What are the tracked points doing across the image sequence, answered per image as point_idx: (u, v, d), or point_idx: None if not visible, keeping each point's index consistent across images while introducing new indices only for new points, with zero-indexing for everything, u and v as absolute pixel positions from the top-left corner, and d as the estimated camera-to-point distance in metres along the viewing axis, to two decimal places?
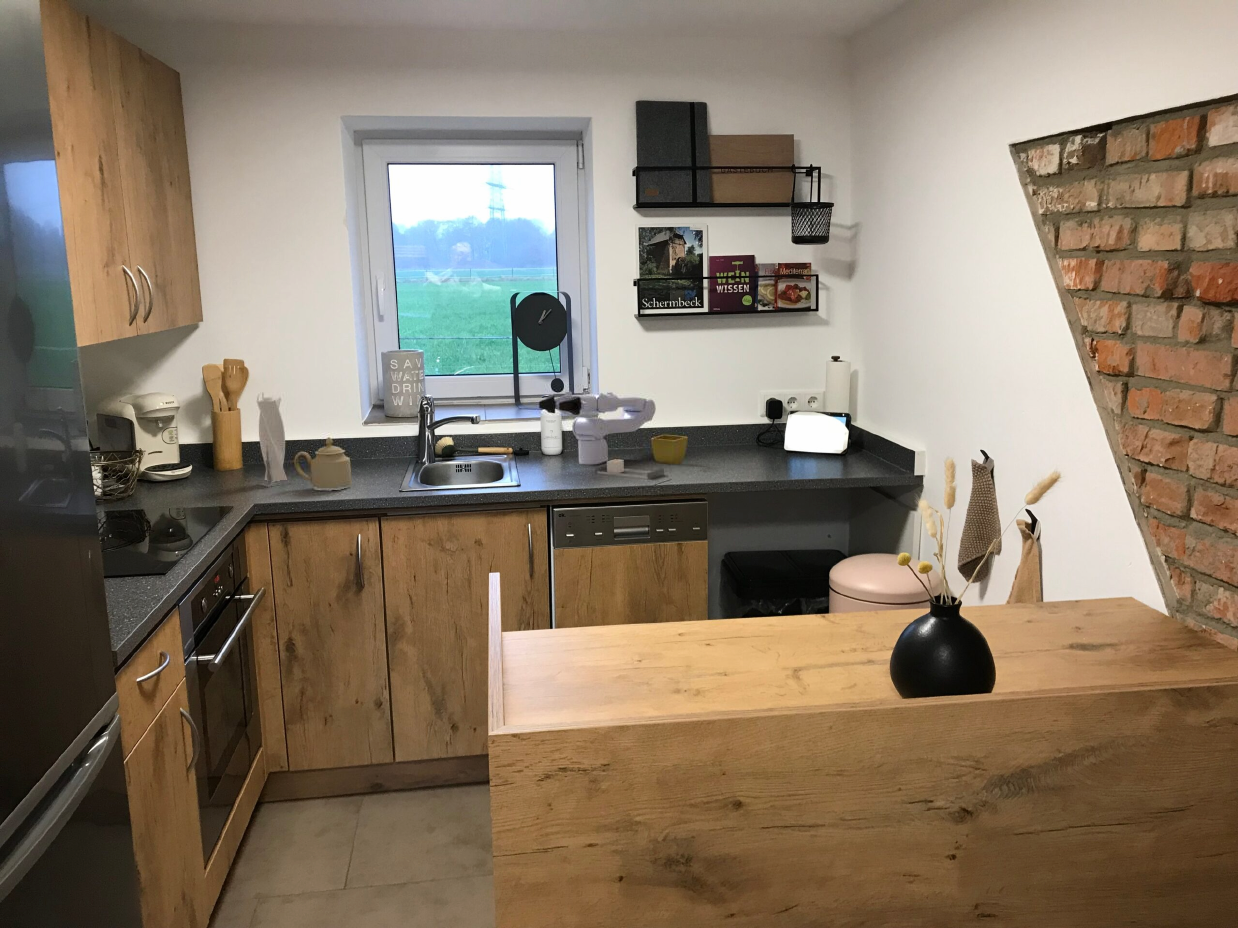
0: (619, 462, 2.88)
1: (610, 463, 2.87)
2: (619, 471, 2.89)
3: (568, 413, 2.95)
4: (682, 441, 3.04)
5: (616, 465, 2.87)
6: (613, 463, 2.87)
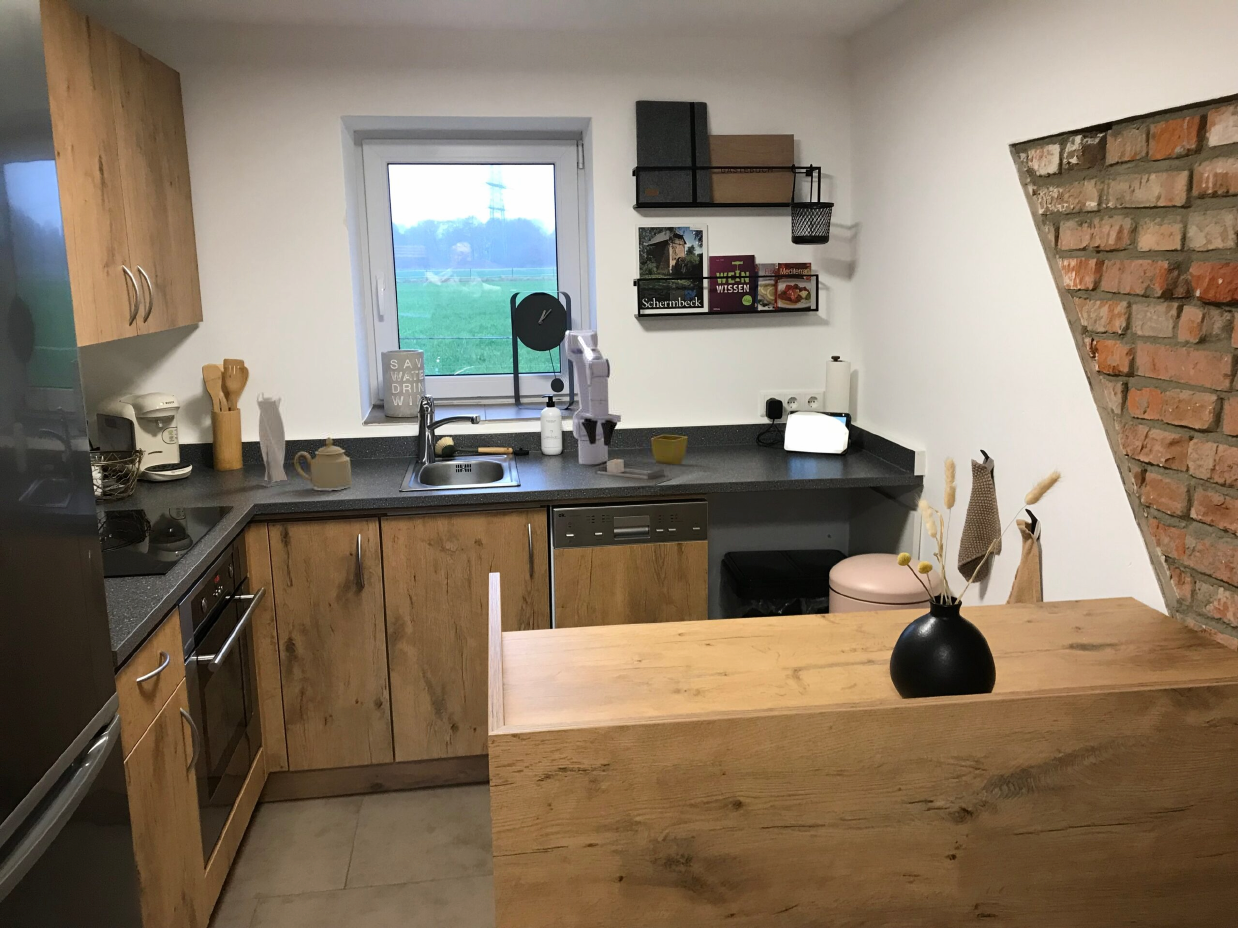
0: (619, 462, 2.88)
1: (610, 463, 2.87)
2: (619, 471, 2.89)
3: None
4: (682, 441, 3.04)
5: (616, 465, 2.87)
6: (613, 463, 2.87)
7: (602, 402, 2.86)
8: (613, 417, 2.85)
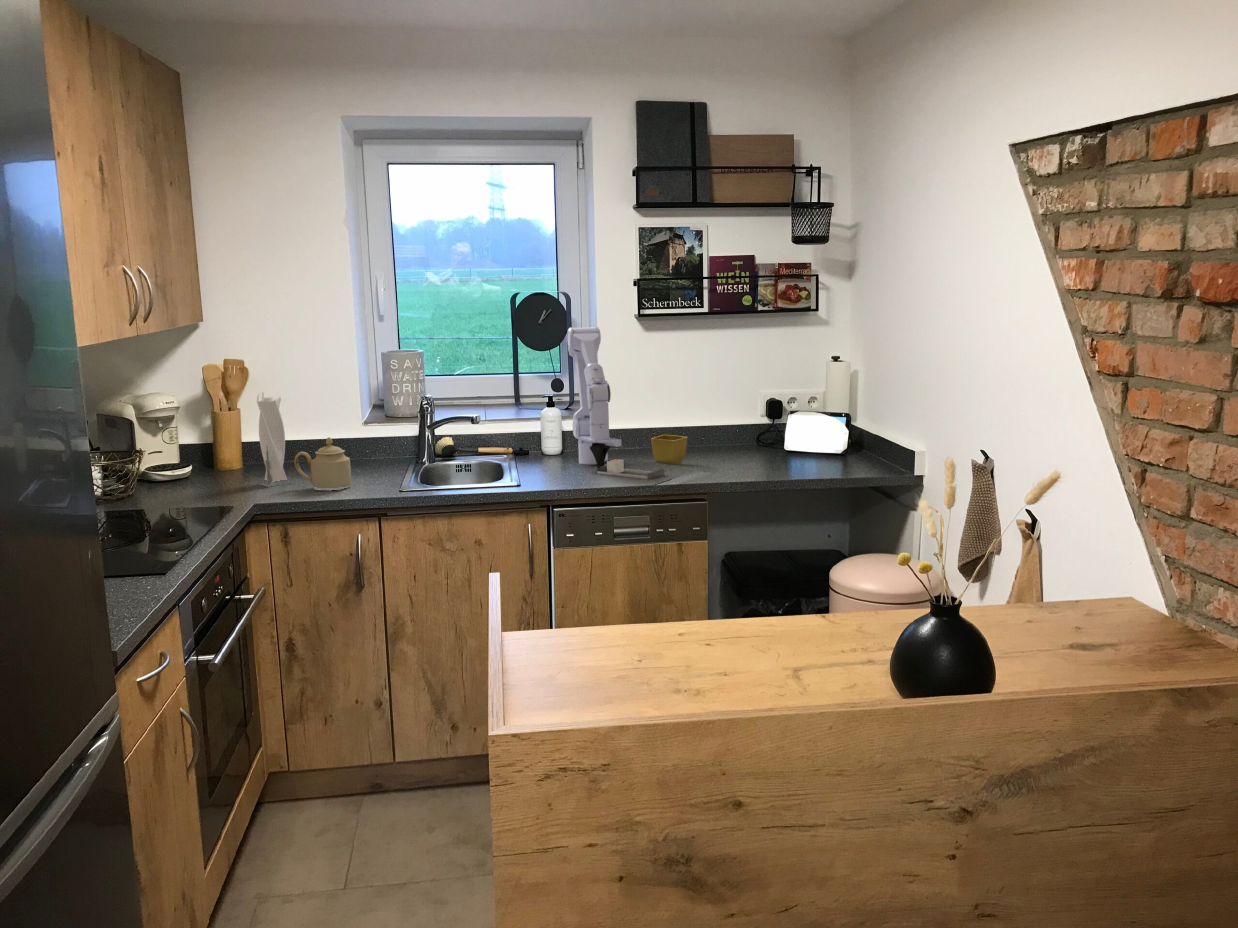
0: (619, 462, 2.88)
1: (610, 463, 2.87)
2: (619, 471, 2.89)
3: None
4: (682, 441, 3.04)
5: (616, 465, 2.87)
6: (613, 463, 2.87)
7: (603, 426, 2.88)
8: (613, 441, 2.87)
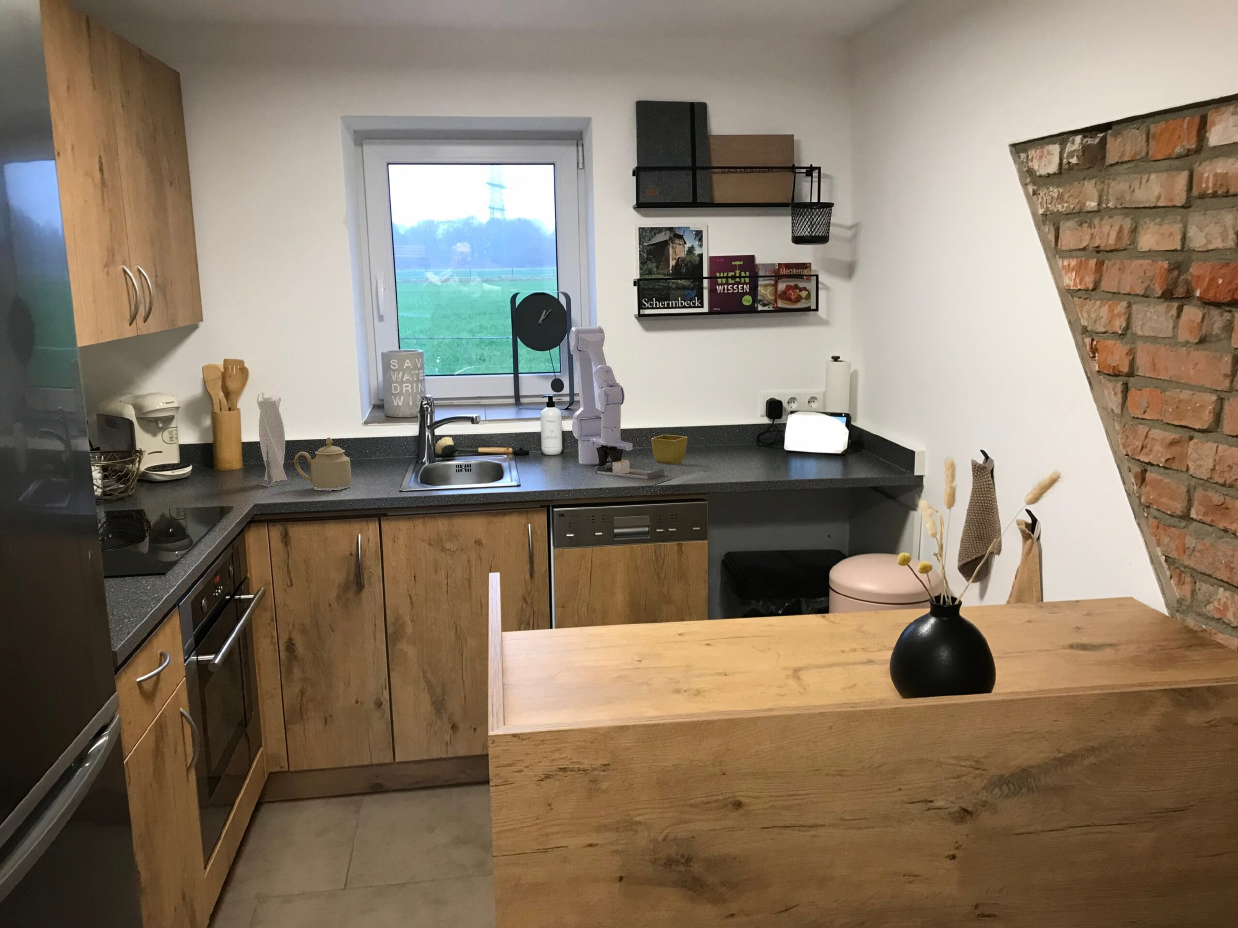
0: (625, 463, 2.87)
1: (616, 464, 2.86)
2: (625, 472, 2.88)
3: None
4: (682, 441, 3.04)
5: (622, 466, 2.86)
6: (619, 464, 2.86)
7: (614, 429, 2.85)
8: (625, 445, 2.84)
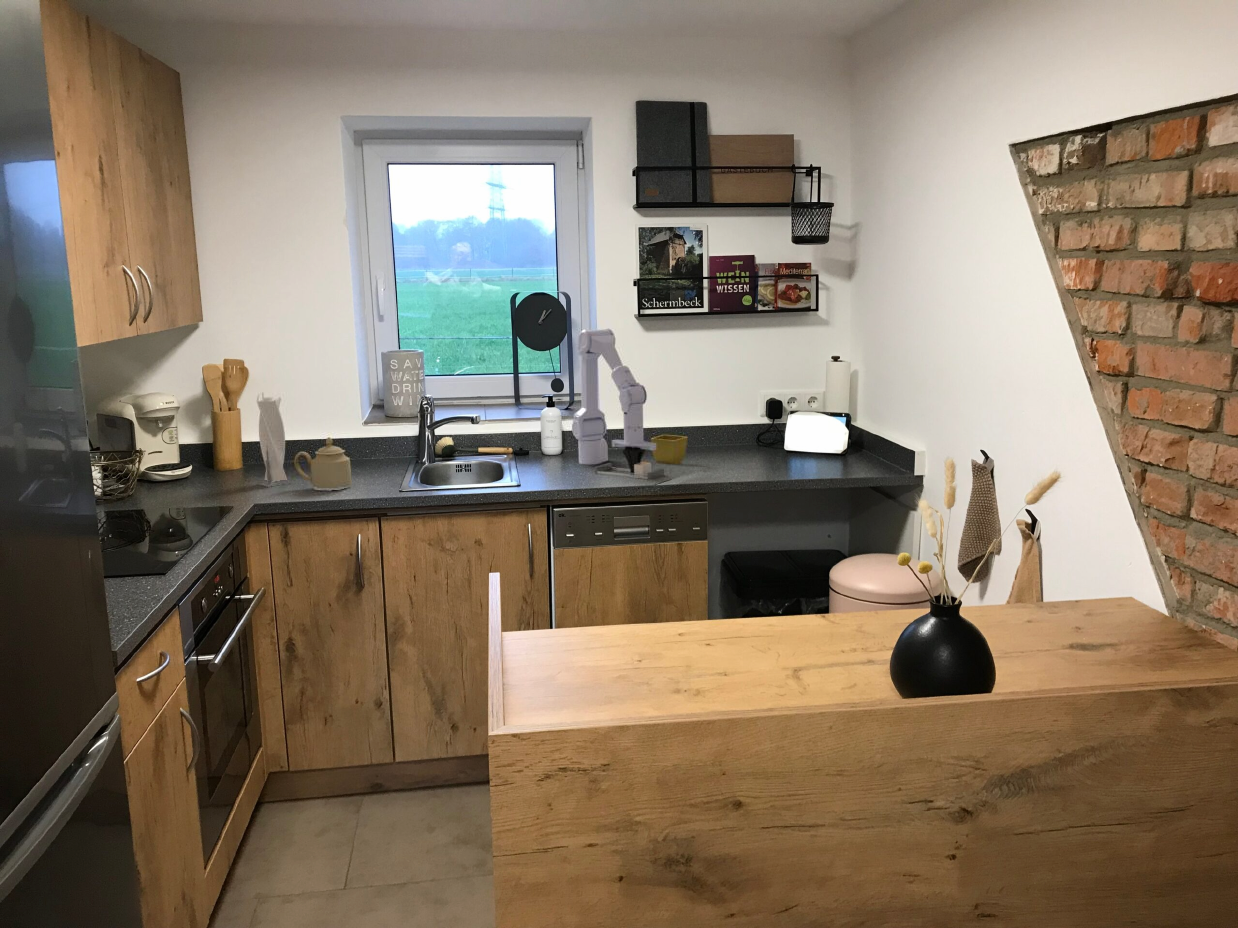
0: (647, 465, 2.83)
1: (637, 466, 2.82)
2: None
3: None
4: (682, 441, 3.04)
5: (644, 468, 2.82)
6: (641, 466, 2.81)
7: (637, 429, 2.81)
8: (648, 445, 2.80)
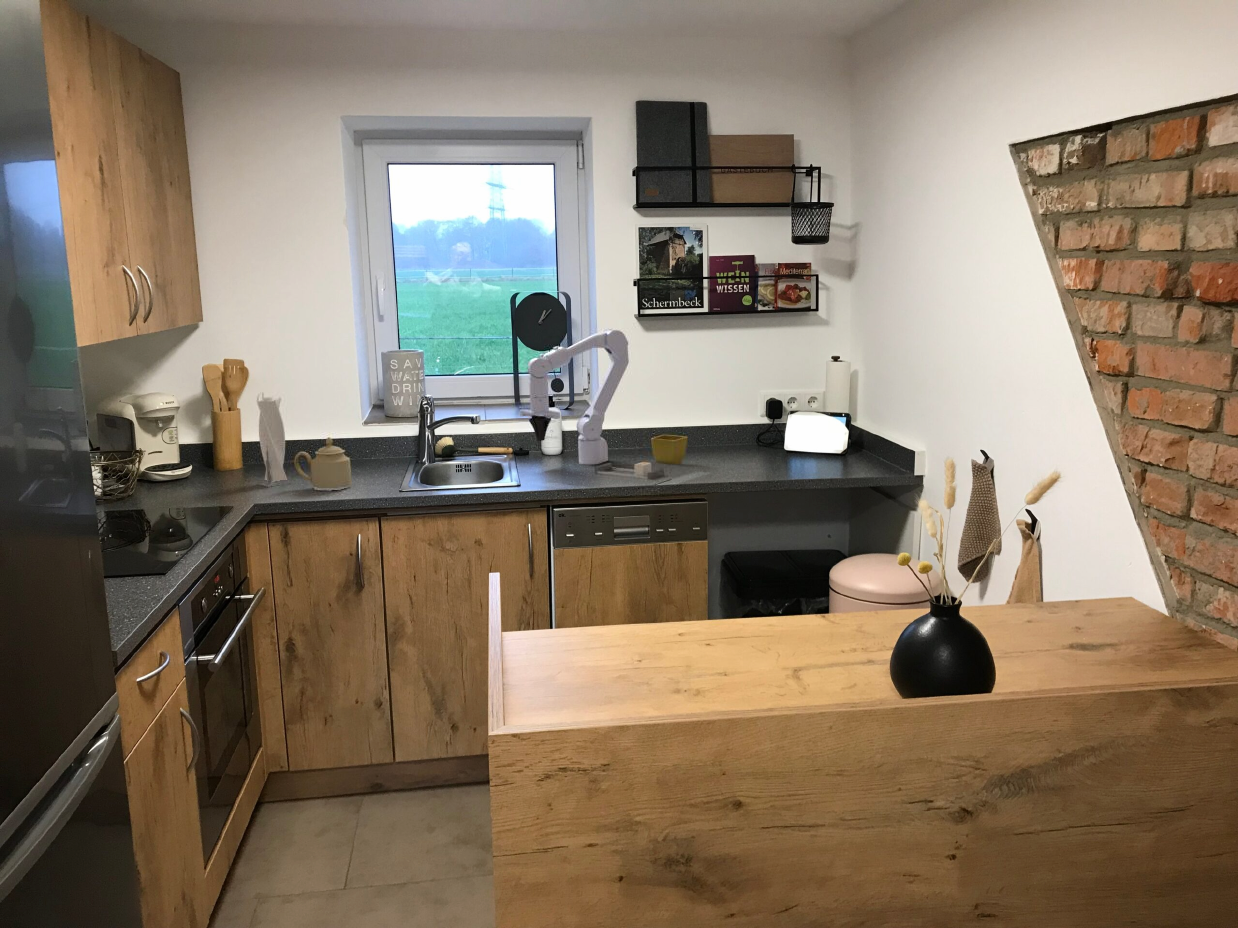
0: (647, 465, 2.83)
1: (638, 466, 2.82)
2: None
3: None
4: (682, 441, 3.04)
5: (644, 468, 2.81)
6: (641, 466, 2.81)
7: (542, 399, 2.97)
8: (552, 414, 2.96)
